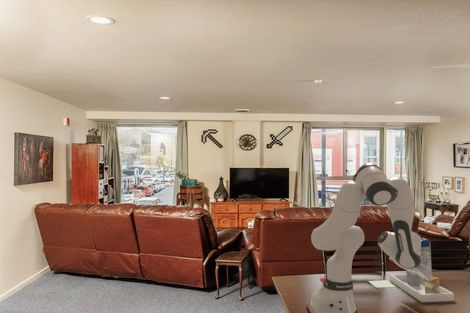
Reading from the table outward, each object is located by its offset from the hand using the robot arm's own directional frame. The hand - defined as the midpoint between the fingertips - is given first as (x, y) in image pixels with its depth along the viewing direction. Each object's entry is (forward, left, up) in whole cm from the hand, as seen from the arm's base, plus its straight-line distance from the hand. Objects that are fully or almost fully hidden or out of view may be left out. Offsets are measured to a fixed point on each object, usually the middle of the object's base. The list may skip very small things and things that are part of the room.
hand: (422, 276), depth 159 cm
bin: (+4, +9, -11) cm, 15 cm away
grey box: (+6, +18, -10) cm, 22 cm away
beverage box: (+20, +34, -12) cm, 41 cm away
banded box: (+6, +2, -10) cm, 12 cm away
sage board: (-11, +20, -11) cm, 26 cm away
